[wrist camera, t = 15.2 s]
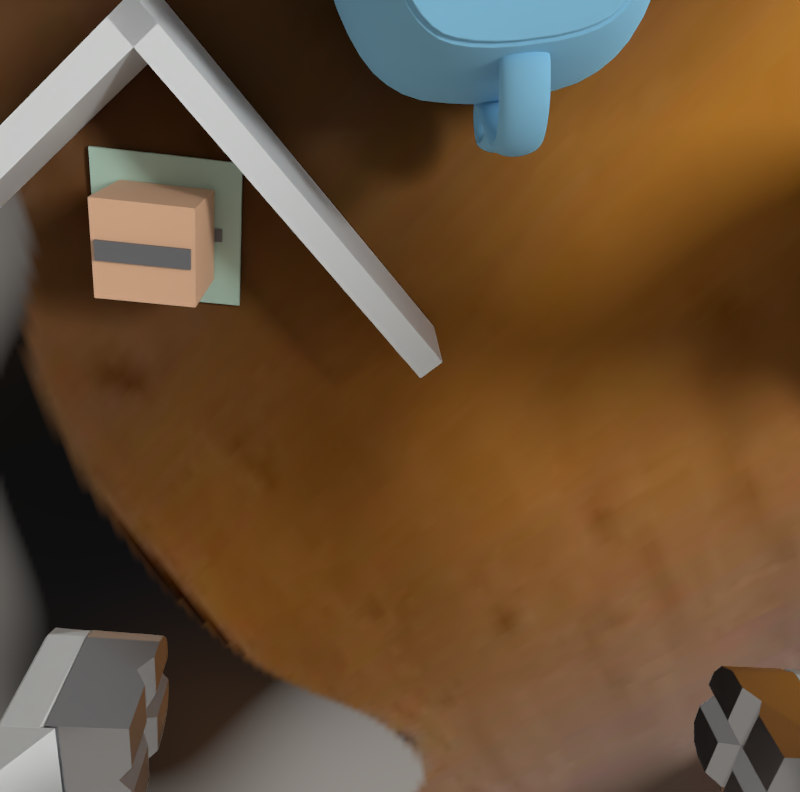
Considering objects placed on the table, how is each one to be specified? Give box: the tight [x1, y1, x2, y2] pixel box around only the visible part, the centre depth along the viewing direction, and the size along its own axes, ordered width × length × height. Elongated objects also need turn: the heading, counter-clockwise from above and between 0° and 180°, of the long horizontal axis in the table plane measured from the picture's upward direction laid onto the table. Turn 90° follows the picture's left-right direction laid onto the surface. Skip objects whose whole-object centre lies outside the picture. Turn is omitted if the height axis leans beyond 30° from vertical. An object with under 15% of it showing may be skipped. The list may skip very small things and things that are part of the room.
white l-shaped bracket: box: [0, 0, 442, 378], centre depth 39 cm, size 22×18×6 cm
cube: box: [88, 180, 215, 307], centre depth 38 cm, size 5×5×5 cm
